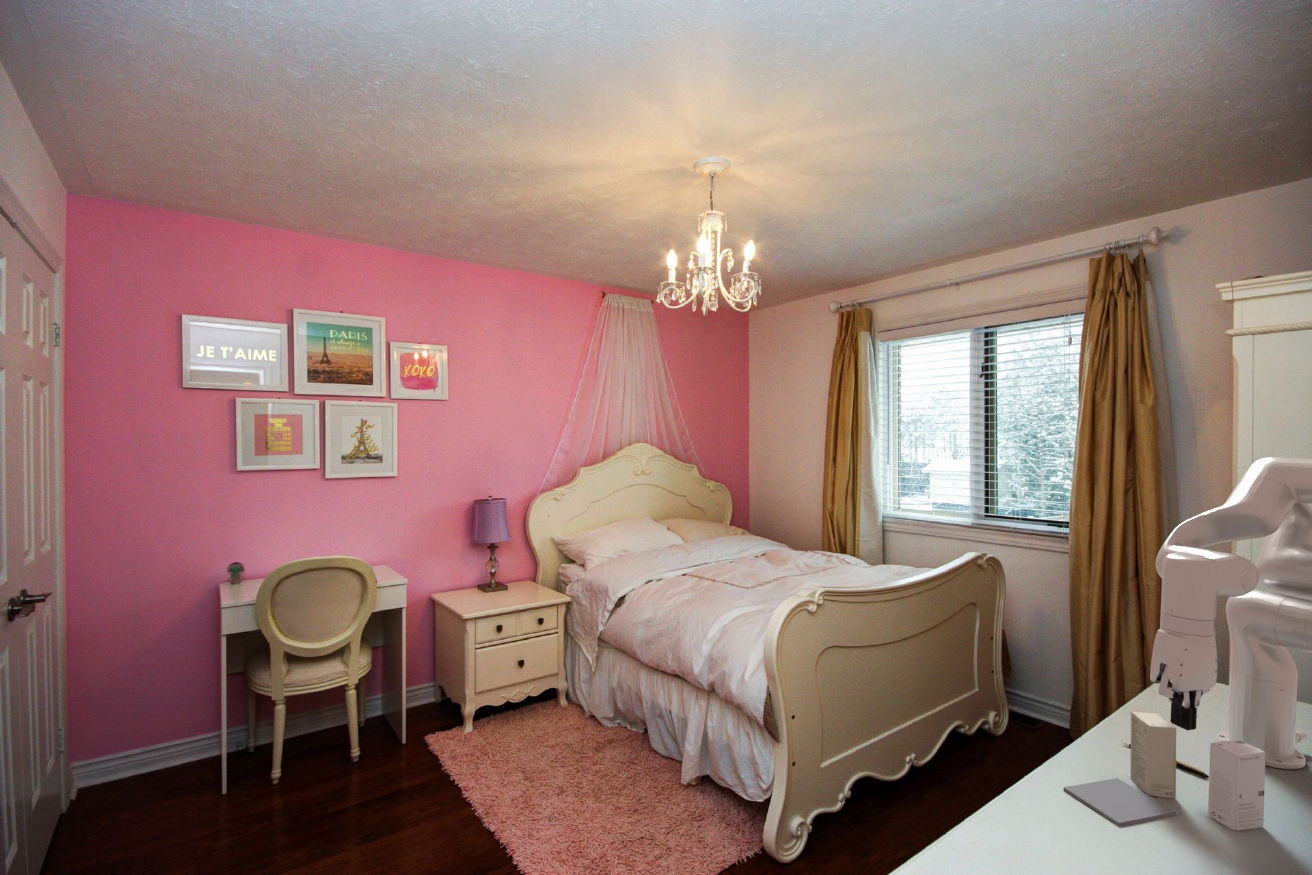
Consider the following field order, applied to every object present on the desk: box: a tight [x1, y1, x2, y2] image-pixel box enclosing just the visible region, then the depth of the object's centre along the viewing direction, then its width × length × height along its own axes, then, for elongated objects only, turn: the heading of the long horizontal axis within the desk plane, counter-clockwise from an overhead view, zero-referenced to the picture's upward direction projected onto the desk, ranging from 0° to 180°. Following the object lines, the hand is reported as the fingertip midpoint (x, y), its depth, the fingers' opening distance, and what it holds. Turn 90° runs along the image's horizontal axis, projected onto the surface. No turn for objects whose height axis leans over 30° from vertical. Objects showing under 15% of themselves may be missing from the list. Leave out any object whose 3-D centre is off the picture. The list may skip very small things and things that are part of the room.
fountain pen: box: [1121, 741, 1209, 779], centre depth 121 cm, size 14×1×2 cm, turn 30°
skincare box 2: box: [1207, 740, 1266, 831], centre depth 102 cm, size 6×4×12 cm
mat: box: [1063, 777, 1177, 827], centre depth 107 cm, size 12×10×1 cm
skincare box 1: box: [1129, 710, 1177, 799], centre depth 112 cm, size 6×4×12 cm
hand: (1183, 726), depth 113 cm, fingers closed
